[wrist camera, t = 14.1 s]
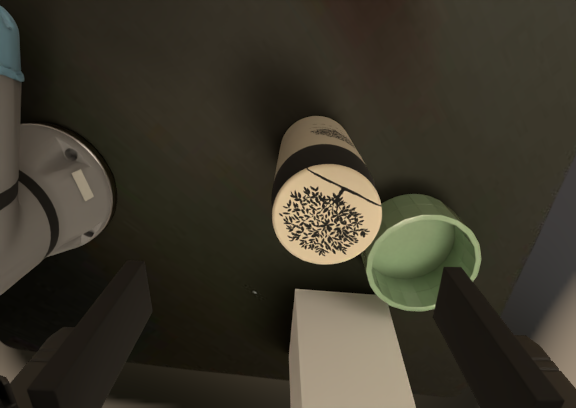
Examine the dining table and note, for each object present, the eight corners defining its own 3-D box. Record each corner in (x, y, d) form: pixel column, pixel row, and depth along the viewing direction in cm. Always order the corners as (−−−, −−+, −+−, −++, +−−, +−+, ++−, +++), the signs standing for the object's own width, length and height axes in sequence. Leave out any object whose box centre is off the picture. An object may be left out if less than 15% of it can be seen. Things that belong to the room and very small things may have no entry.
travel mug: (322, 196, 44) (336, 287, 27) (266, 159, 42) (246, 230, 25) (365, 142, 41) (411, 206, 24) (307, 100, 39) (315, 137, 23)
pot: (354, 279, 48) (361, 309, 42) (363, 192, 43) (372, 213, 38) (448, 282, 48) (468, 312, 42) (467, 195, 43) (492, 216, 38)
